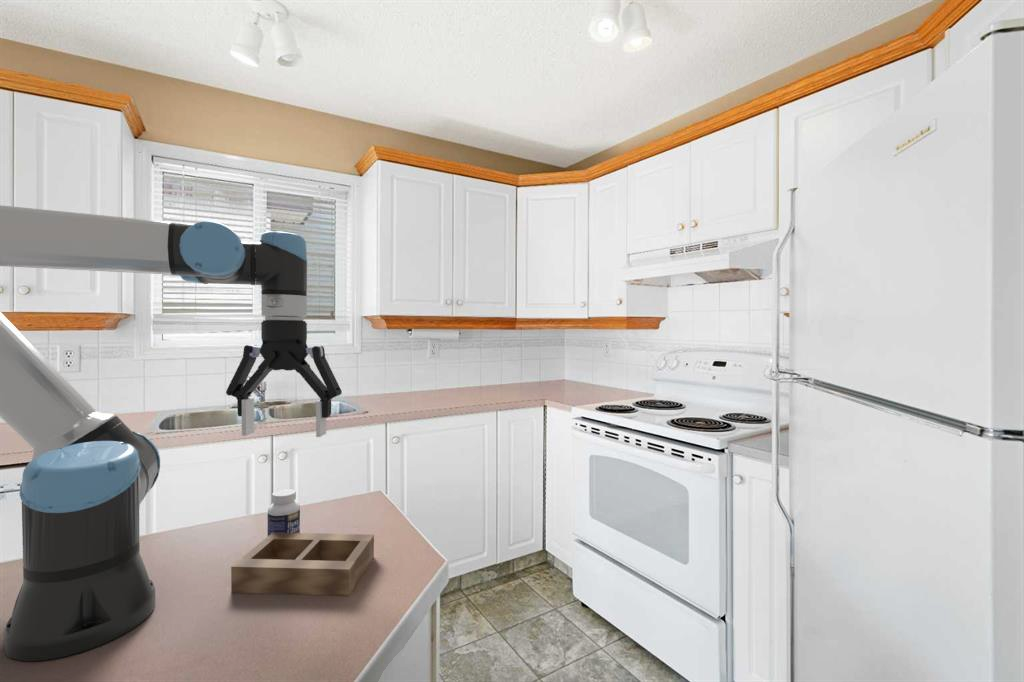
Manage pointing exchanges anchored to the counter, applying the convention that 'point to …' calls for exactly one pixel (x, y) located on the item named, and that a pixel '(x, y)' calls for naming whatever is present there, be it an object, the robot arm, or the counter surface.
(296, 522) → the pill bottle
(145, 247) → the robot arm
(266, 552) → the socket board
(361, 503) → the counter surface
